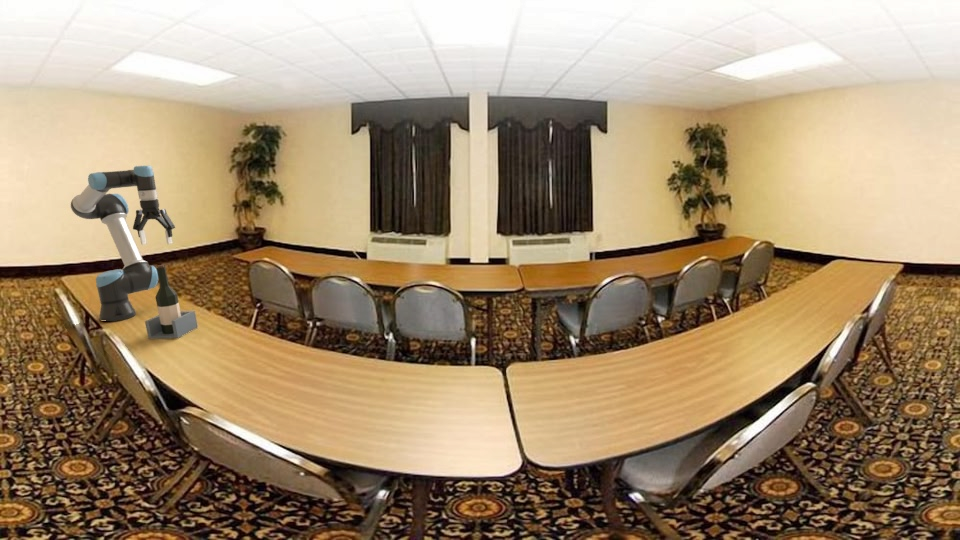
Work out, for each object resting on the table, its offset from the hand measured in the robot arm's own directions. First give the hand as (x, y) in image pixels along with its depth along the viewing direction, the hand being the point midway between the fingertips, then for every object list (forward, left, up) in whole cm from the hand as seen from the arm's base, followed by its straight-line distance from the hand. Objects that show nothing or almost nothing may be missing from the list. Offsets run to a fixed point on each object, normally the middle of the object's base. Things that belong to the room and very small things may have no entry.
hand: (157, 244), depth 261 cm
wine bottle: (+18, -23, -36) cm, 46 cm away
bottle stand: (+18, -23, -37) cm, 47 cm away
